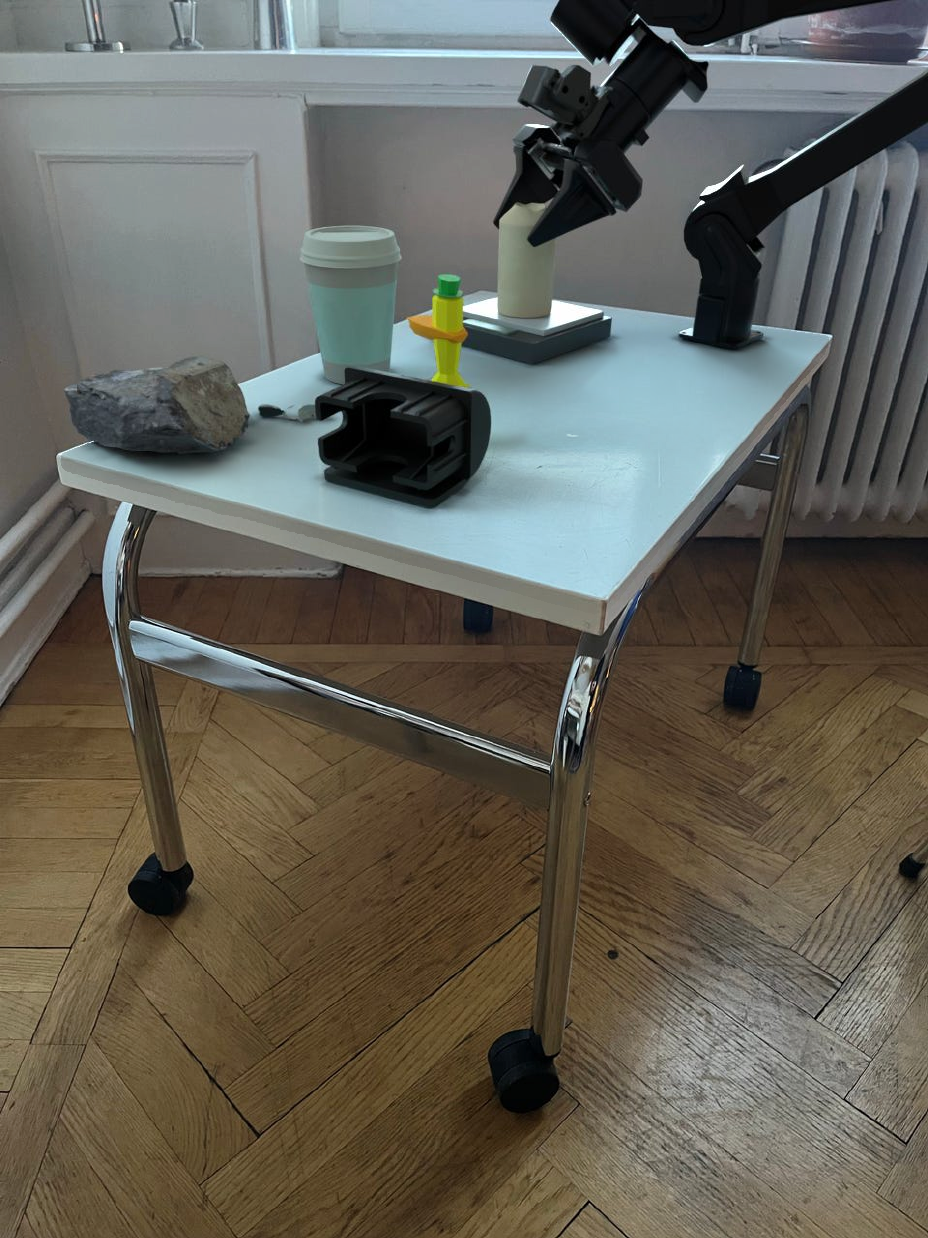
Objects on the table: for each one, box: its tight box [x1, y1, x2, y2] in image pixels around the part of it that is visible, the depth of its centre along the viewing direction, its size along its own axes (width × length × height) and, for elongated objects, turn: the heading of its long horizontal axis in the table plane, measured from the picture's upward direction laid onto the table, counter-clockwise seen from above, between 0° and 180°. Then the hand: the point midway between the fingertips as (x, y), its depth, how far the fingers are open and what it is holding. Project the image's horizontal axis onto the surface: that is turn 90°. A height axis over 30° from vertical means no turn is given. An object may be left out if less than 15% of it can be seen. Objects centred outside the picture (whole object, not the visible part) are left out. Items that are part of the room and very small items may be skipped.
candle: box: [496, 203, 557, 318], centre depth 89 cm, size 6×6×10 cm
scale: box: [461, 297, 613, 365], centre depth 93 cm, size 13×13×3 cm
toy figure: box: [406, 273, 473, 389], centre depth 66 cm, size 7×4×12 cm, turn 43°
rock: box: [63, 355, 251, 455], centre depth 67 cm, size 14×11×5 cm
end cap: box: [314, 366, 492, 509], centre depth 62 cm, size 10×7×7 cm
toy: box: [257, 403, 316, 423], centre depth 72 cm, size 1×8×2 cm
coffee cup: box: [299, 225, 403, 385], centre depth 79 cm, size 8×8×12 cm
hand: (512, 234), depth 88 cm, fingers open, 9 cm apart
